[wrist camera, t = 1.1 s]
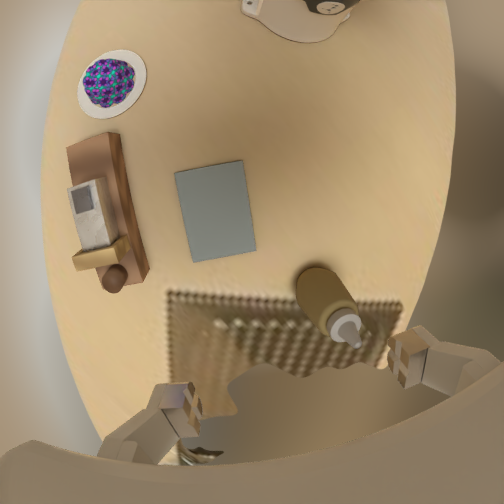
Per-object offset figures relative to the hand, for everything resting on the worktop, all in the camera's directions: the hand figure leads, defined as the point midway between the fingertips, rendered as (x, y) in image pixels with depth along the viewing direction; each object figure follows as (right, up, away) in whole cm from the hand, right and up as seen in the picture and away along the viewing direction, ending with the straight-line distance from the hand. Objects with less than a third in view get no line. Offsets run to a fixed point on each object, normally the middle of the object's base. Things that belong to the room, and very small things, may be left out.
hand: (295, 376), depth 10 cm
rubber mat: (-7, +11, +31) cm, 33 cm away
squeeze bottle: (+9, 0, +37) cm, 38 cm away
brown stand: (-23, +12, +28) cm, 38 cm away
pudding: (-23, +31, +22) cm, 44 cm away
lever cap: (-23, +10, +23) cm, 34 cm away
